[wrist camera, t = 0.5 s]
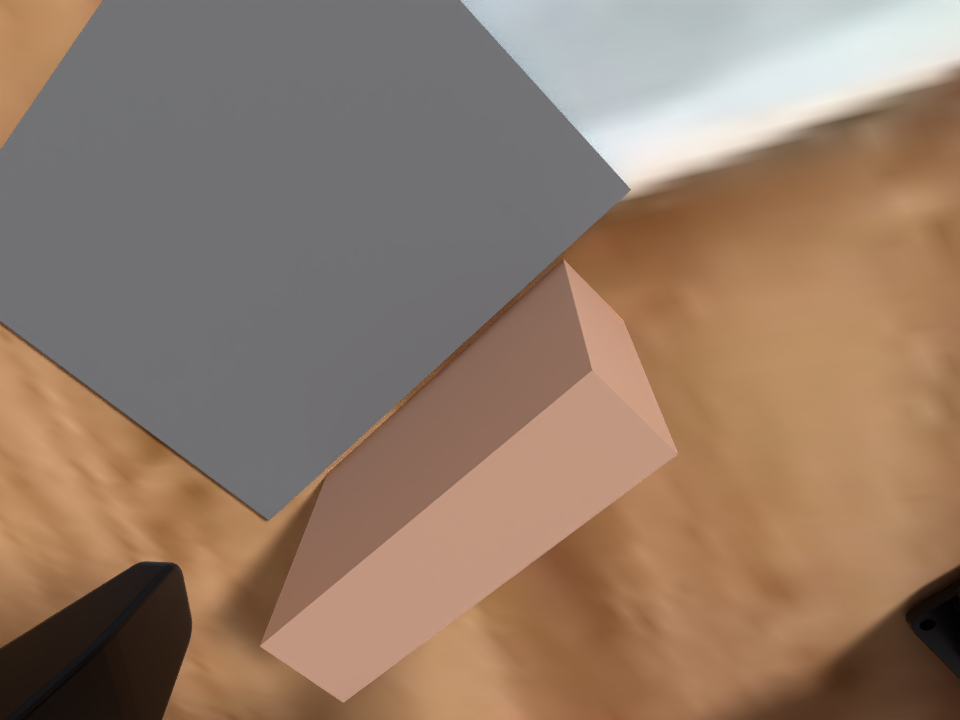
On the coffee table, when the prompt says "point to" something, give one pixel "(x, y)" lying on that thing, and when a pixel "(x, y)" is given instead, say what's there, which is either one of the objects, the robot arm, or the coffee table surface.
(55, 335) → the mat
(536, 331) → the block
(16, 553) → the coffee table surface
